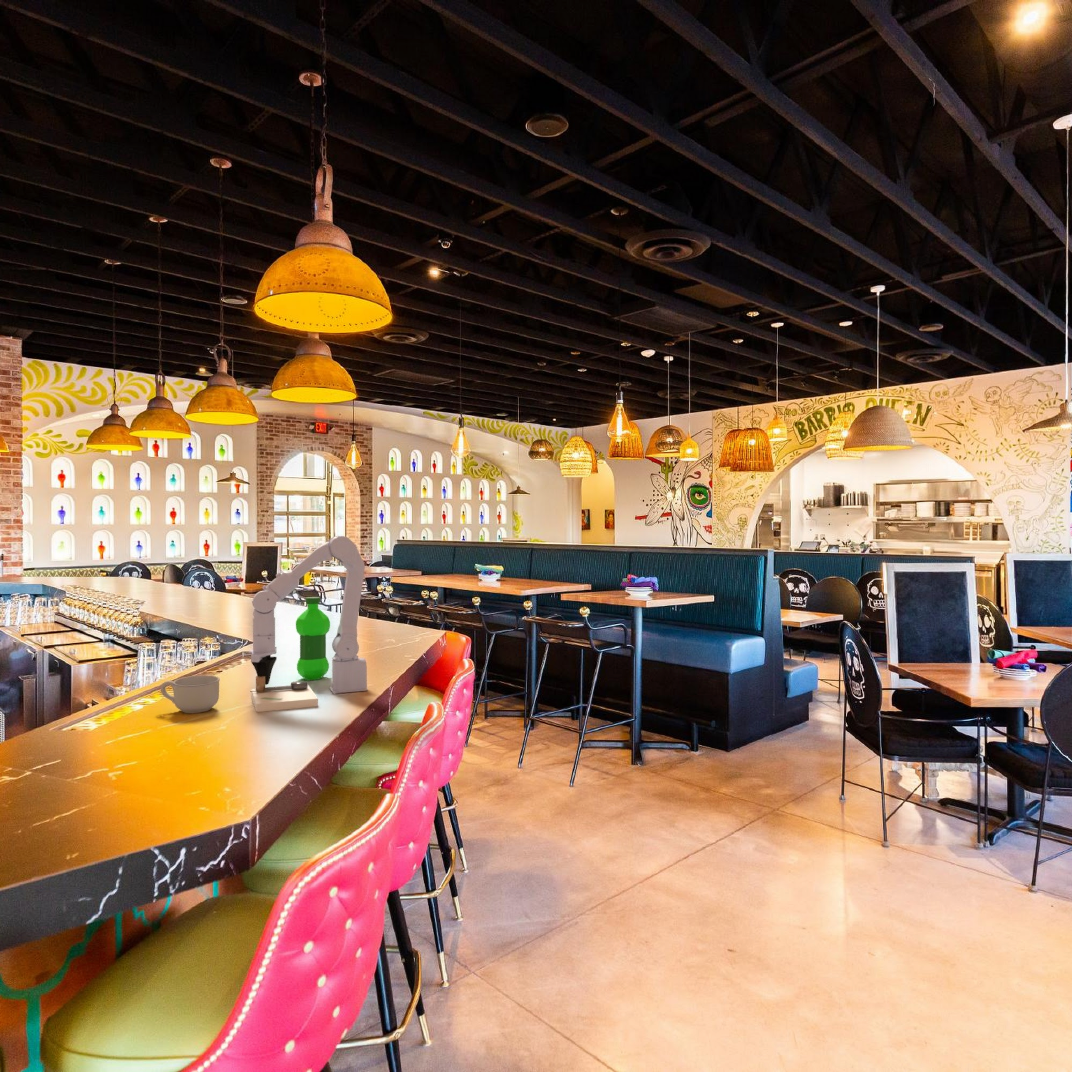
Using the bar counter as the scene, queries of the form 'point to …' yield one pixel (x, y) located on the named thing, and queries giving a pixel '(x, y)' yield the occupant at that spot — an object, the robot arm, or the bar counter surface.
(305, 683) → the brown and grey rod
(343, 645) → the robot arm
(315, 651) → the plastic bottle
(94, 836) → the bar counter surface
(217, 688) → the teacup
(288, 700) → the board
